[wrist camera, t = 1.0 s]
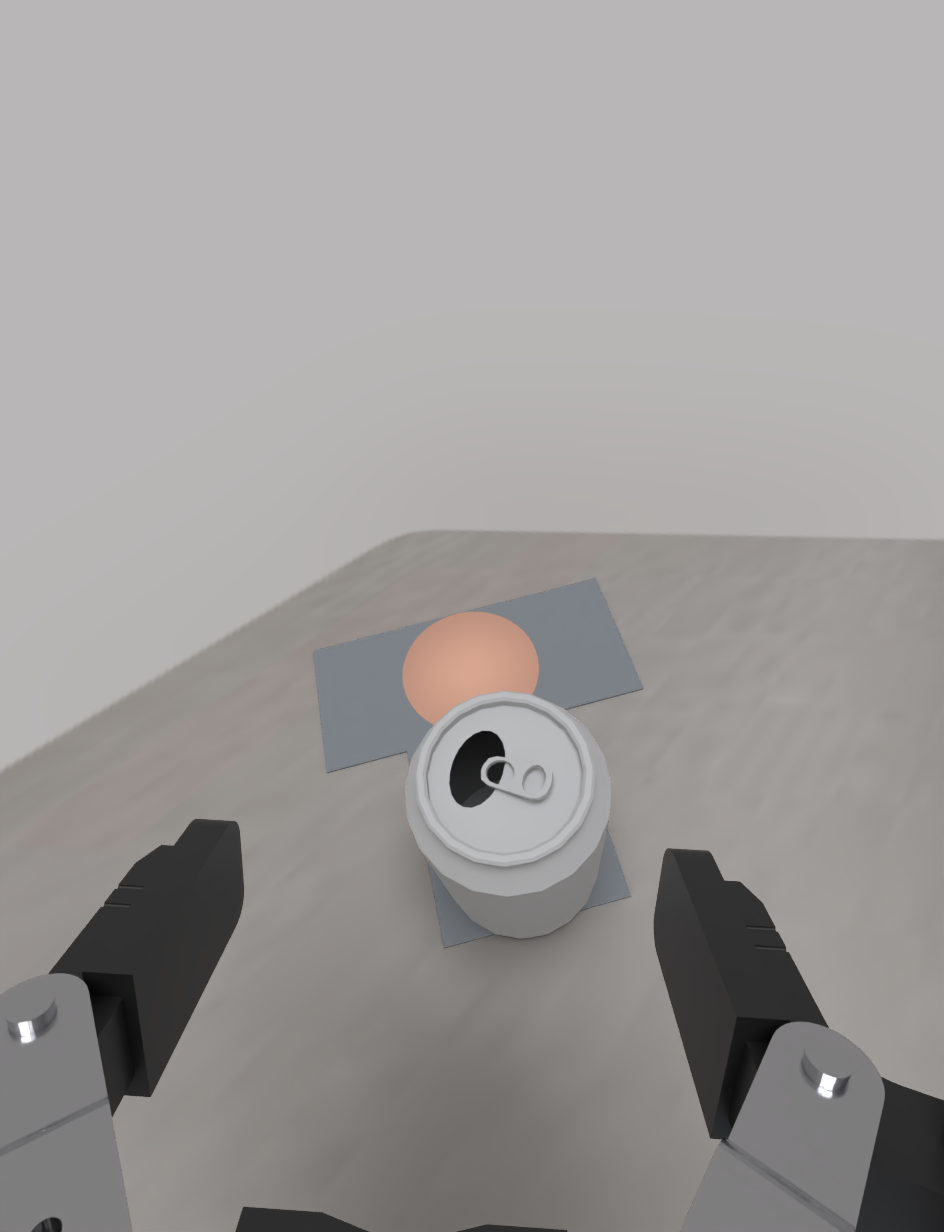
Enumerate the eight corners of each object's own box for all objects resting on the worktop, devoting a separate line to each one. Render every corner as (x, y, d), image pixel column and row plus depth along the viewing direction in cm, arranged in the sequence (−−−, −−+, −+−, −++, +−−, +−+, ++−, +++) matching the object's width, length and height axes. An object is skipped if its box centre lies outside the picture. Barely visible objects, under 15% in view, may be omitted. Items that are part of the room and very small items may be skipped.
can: (474, 765, 35) (440, 651, 25) (614, 807, 33) (636, 701, 23) (422, 909, 32) (359, 842, 22) (576, 966, 30) (584, 920, 20)
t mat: (595, 581, 41) (595, 577, 41) (721, 872, 31) (722, 870, 31) (314, 653, 41) (313, 650, 41) (350, 974, 31) (349, 974, 30)
